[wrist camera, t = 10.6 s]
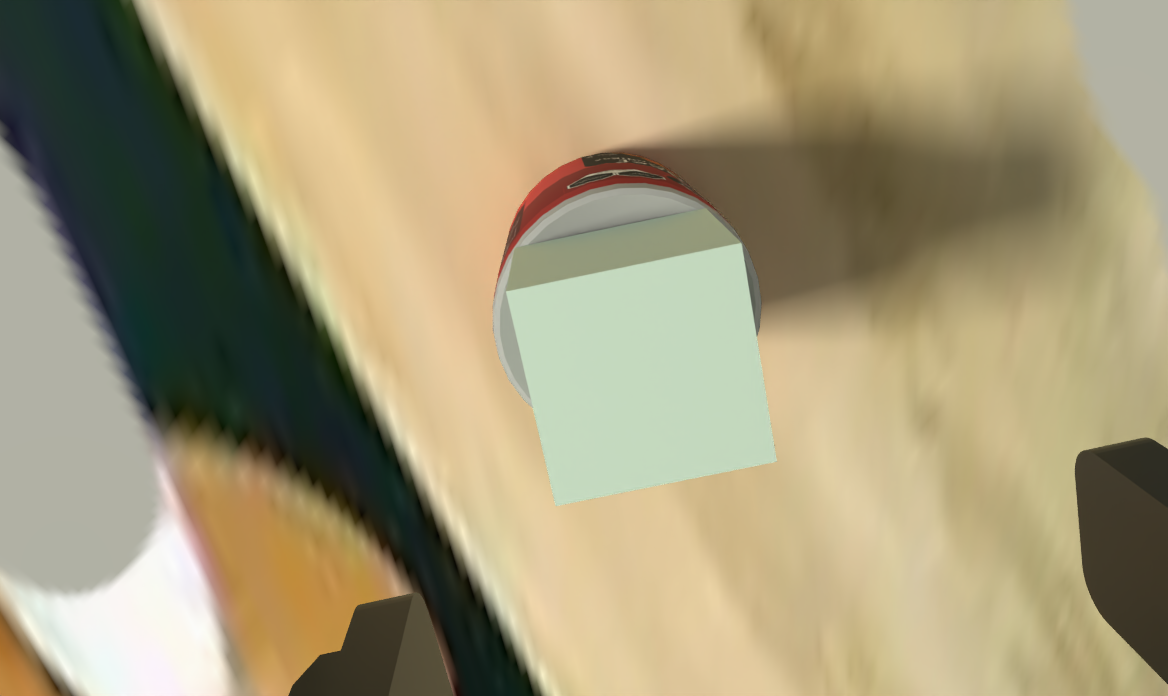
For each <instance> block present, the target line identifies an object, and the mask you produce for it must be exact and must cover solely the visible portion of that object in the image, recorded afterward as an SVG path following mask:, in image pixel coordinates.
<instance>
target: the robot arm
mask: <svg viewBox="0 0 1168 696" xmlns="http://www.w3.org/2000/svg"><path fill="white" fill-rule="evenodd" d="M1075 480H1076V492H1077V505H1078V517H1079V529H1080V542H1081V554H1082V566H1083V573H1084V577H1085V581H1086V585H1087V588H1088V590H1089V593H1090V595H1091V598H1092V600H1093V602H1094V604H1095V606H1096V608H1097V609H1098V611H1099V613H1100V614H1101V615H1102V617H1103V618H1104V619H1105V620H1106V622H1107V623H1108V624H1109V625H1110V626H1111V627H1112V628H1113V629H1114V630H1115V631H1116V632H1117V633H1118V634H1119V635H1120V636H1121V637H1122V638H1123V639H1124V640H1125V641H1126V642H1127V643H1128V644H1129V645H1130V646H1131V647H1132V648H1133V649H1134V650H1135V651H1136V652H1137V653H1138V654H1139V655H1140V656H1141V657H1142V658H1143V659H1144V660H1145V662H1146V663H1147V664H1148V665H1149V666H1150V667H1151V668H1152V669H1153V670H1154V671H1155V672H1156V673H1157V674H1158V675H1159V676H1160V677H1161V678H1162V679H1163V680H1164V681H1165V682H1166V683H1167V684H1168V449H1167V448H1165V447H1164V446H1162V445H1161V444H1159V443H1158V442H1156V441H1154V440H1152V439H1150V438H1140V439H1136V440H1131V441H1126V442H1122V443H1117V444H1112V445H1108V446H1103V447H1098V448H1094V449H1089V450H1084V451H1082V452H1080V454H1079V455H1078V457H1077V459H1076V463H1075ZM289 696H453V692H452V689H451V686H450V683H449V679H448V676H447V673H446V669H445V666H444V663H443V659H442V656H441V653H440V650H439V646H438V643H437V640H436V636H435V633H434V630H433V626H432V623H431V620H430V616H429V613H428V610H427V607H426V605H425V602H424V600H423V598H422V597H421V595H420V594H419V593H412V594H407V595H403V596H398V597H393V598H389V599H384V600H379V601H375V602H370V603H365V604H361V605H358V606H357V607H356V609H355V611H354V614H353V617H352V619H351V622H350V625H349V628H348V631H347V634H346V637H345V640H344V643H343V646H342V649H341V651H337V652H332V653H327V654H323V655H320V656H319V657H318V658H317V659H316V660H315V661H314V662H313V663H312V665H311V666H310V667H309V668H308V669H307V670H306V671H305V672H304V673H303V675H302V676H301V677H300V678H299V679H298V680H297V681H296V682H295V683H294V684H293V686H292V688H291V691H290V693H289Z"/></svg>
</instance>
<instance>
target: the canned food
mask: <svg viewBox="0 0 1168 696" xmlns="http://www.w3.org/2000/svg"><path fill="white" fill-rule="evenodd" d="M703 208H706V209H707V210H708V211H709V212H710V213H711V214H712V215H713V216H714V217H716V218H717V219H718V220H719V221H720V222H721V223H722V224H723V225H724V226H725V227H726V228H727V229H728V230H729V231H730V232H731V233H732V234H733V235H734V236H735V237H736V238H737V239H738V240H739V241H740V242H741V243H742V249H743V255H744V261H745V267H746V273H747V280H748V286H749V292H750V298H751V305H752V311H753V317H754V323H755V329H756V336H757V335H758V332H759V328H760V316H761V296H760V289H759V281H758V277H757V274H756V271H755V268H754V266H753V263H752V260H751V257H750V255H749V252H748V250H747V248H746V247H745V245H744V243H743V242H742V240H741V239H740V237H739V236H738V234H737V232H736V231H735V229H734V228H733V227H732V226H731V225H730V224H729V223H728V222H727V221H726V220H725V219H724V218H723V217H722V216H721V215H720V213H719V212H718V211H717V210H716V209H715V208H714V207H713V206H712V205H710V204H709V203H708V202H707V201H706V200H705V199H704V198H703V197H701V196H700V195H699V194H698V193H697V192H696V191H695V190H693V189H692V188H691V187H690V186H689V185H688V184H687V183H685V182H684V181H683V180H682V179H681V178H680V177H679V176H677V175H676V174H675V173H673V172H672V171H670V170H669V169H667V168H666V167H664V166H663V165H661V164H659V163H657V162H654V161H652V160H649V159H647V158H644V157H642V156H636V155H631V154H625V153H600V154H595V155H591V156H586V157H582V158H579V159H576V160H574V161H572V162H569V163H567V164H565V165H562V166H561V167H559V168H558V169H556V170H555V171H553V172H552V173H550V174H549V175H547V176H546V177H544V178H543V179H542V180H541V181H540V182H539V183H538V184H537V185H536V186H535V187H534V188H533V189H532V190H531V191H530V192H529V194H528V195H527V197H526V198H525V200H524V201H523V203H522V204H521V206H520V207H519V209H518V211H517V213H516V215H515V218H514V220H513V223H512V225H511V227H510V231H509V235H508V239H507V243H506V247H505V251H504V255H503V258H502V262H501V266H500V270H499V274H498V279H497V284H496V289H495V294H494V302H493V332H494V337H495V342H496V346H497V351H498V355H499V359H500V361H501V363H502V366H503V368H504V370H505V372H506V374H507V377H508V379H509V381H510V382H511V384H512V385H513V386H514V388H515V389H516V390H517V392H518V393H519V394H520V396H521V397H522V398H523V400H524V401H525V402H526V403H528V404H529V405H530V406H531V407H532V408H533V406H532V402H531V398H530V393H529V389H528V385H527V380H526V376H525V372H524V367H523V363H522V359H521V355H520V350H519V346H518V342H517V337H516V333H515V329H514V324H513V320H512V316H511V312H510V307H509V303H508V299H507V294H506V288H507V283H508V278H509V273H510V268H511V263H512V257H513V252H514V248H516V247H521V246H525V245H530V244H535V243H540V242H545V241H549V240H554V239H559V238H564V237H569V236H573V235H578V234H583V233H588V232H593V231H597V230H602V229H607V228H612V227H617V226H621V225H626V224H631V223H636V222H641V221H645V220H650V219H655V218H660V217H665V216H669V215H674V214H679V213H684V212H689V211H694V210H698V209H703Z"/></svg>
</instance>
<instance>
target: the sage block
mask: <svg viewBox="0 0 1168 696" xmlns="http://www.w3.org/2000/svg"><path fill="white" fill-rule="evenodd" d="M506 294H507V299H508V303H509V307H510V312H511V316H512V320H513V324H514V329H515V333H516V337H517V342H518V346H519V350H520V355H521V359H522V363H523V367H524V372H525V376H526V380H527V385H528V389H529V393H530V398H531V402H532V406H533V410H534V415H535V419H536V423H537V428H538V432H539V436H540V441H541V445H542V449H543V454H544V458H545V462H546V466H547V471H548V475H549V479H550V484H551V488H552V492H553V497H554V501H555V505H556V506H559V505H564V504H569V503H574V502H578V501H583V500H588V499H593V498H598V497H603V496H608V495H613V494H618V493H623V492H628V491H633V490H638V489H643V488H648V487H653V486H658V485H663V484H668V483H673V482H678V481H683V480H688V479H693V478H698V477H703V476H708V475H713V474H718V473H723V472H728V471H733V470H738V469H743V468H748V467H753V466H758V465H763V464H768V463H773V462H777V460H776V454H775V447H774V441H773V435H772V429H771V423H770V416H769V410H768V404H767V398H766V391H765V385H764V379H763V373H762V367H761V360H760V354H759V348H758V342H757V336H756V329H755V323H754V317H753V311H752V305H751V298H750V292H749V286H748V280H747V273H746V267H745V261H744V255H743V249H742V243H741V242H740V241H739V240H738V239H737V238H736V237H735V236H734V235H733V234H732V233H731V232H730V231H729V230H728V229H727V228H726V227H725V226H724V225H723V224H722V223H721V222H720V221H719V220H718V219H717V218H716V217H714V216H713V215H712V214H711V213H710V212H709V211H708V210H707V209H706V208H703V209H698V210H694V211H689V212H684V213H679V214H674V215H669V216H665V217H660V218H655V219H650V220H645V221H641V222H636V223H631V224H626V225H621V226H617V227H612V228H607V229H602V230H597V231H593V232H588V233H583V234H578V235H573V236H569V237H564V238H559V239H554V240H549V241H545V242H540V243H535V244H530V245H525V246H521V247H516V248H514V252H513V257H512V263H511V268H510V273H509V278H508V283H507V288H506Z"/></svg>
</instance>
